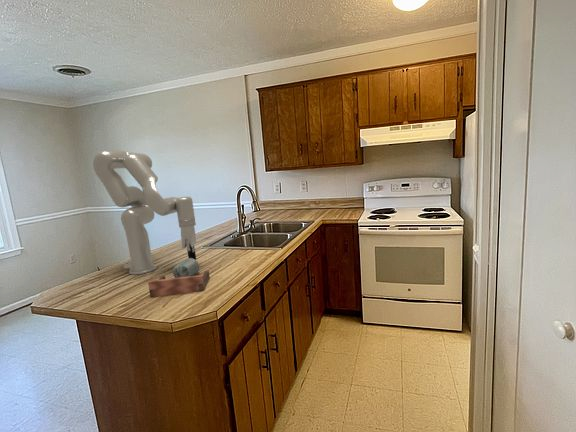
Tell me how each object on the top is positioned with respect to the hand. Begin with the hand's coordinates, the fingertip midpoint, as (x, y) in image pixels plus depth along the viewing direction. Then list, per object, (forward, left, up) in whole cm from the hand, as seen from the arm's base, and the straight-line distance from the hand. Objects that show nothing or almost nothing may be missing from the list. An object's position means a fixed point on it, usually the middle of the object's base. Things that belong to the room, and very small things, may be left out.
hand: (192, 260), depth 151 cm
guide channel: (0, -23, -4) cm, 24 cm away
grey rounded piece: (0, -13, -4) cm, 14 cm away
